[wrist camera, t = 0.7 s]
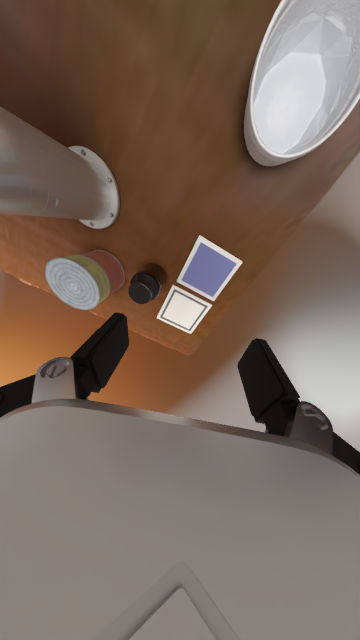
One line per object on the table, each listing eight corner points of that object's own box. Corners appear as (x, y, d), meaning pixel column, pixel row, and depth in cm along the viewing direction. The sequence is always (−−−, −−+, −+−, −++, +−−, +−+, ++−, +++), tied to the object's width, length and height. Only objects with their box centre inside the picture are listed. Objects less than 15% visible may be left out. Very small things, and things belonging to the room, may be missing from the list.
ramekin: (290, -10, 16) (340, -138, 11) (358, 77, 19) (428, 11, 13) (220, 143, 23) (227, 116, 18) (276, 192, 26) (298, 181, 20)
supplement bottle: (146, 289, 40) (128, 309, 30) (139, 264, 36) (117, 278, 26) (168, 287, 39) (158, 307, 29) (164, 262, 35) (151, 275, 25)
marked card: (190, 333, 48) (190, 334, 47) (156, 317, 45) (156, 318, 45) (212, 304, 40) (212, 305, 40) (172, 284, 38) (172, 284, 38)
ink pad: (213, 300, 40) (213, 301, 39) (176, 280, 38) (176, 281, 37) (241, 261, 33) (243, 262, 32) (199, 235, 31) (199, 235, 30)
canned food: (86, 241, 35) (41, 246, 25) (128, 262, 36) (102, 275, 26) (84, 280, 41) (47, 296, 31) (120, 296, 42) (97, 317, 33)
